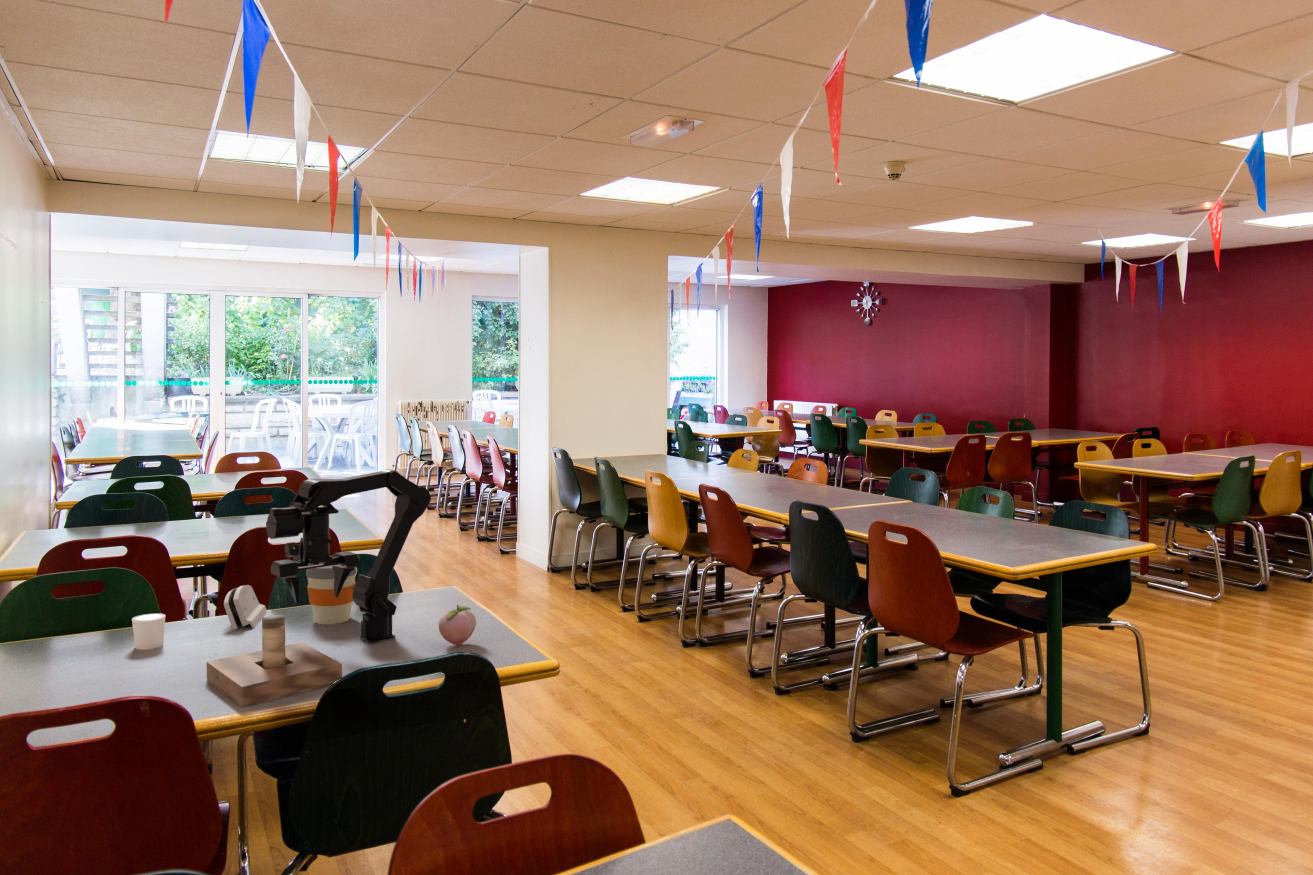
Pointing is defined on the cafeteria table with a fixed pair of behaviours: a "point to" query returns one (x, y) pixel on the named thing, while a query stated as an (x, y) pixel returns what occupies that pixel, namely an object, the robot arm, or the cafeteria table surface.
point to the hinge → (243, 607)
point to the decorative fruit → (457, 625)
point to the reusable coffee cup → (329, 595)
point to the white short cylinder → (148, 630)
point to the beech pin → (273, 641)
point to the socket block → (272, 674)
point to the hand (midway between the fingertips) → (316, 600)
